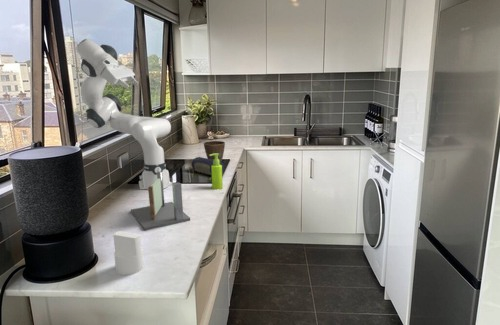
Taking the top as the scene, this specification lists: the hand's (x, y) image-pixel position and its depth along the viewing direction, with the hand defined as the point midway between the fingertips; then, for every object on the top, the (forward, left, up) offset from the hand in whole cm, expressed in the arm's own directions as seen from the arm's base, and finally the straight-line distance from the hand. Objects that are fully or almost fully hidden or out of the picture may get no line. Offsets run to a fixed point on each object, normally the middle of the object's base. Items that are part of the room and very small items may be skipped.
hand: (132, 85), depth 170 cm
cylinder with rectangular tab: (+63, -20, -58) cm, 88 cm away
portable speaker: (-33, +50, -58) cm, 84 cm away
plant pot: (-52, +65, -58) cm, 101 cm away
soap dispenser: (-1, +42, -58) cm, 72 cm away
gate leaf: (+22, +1, -56) cm, 60 cm away
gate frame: (+23, +2, -58) cm, 62 cm away
